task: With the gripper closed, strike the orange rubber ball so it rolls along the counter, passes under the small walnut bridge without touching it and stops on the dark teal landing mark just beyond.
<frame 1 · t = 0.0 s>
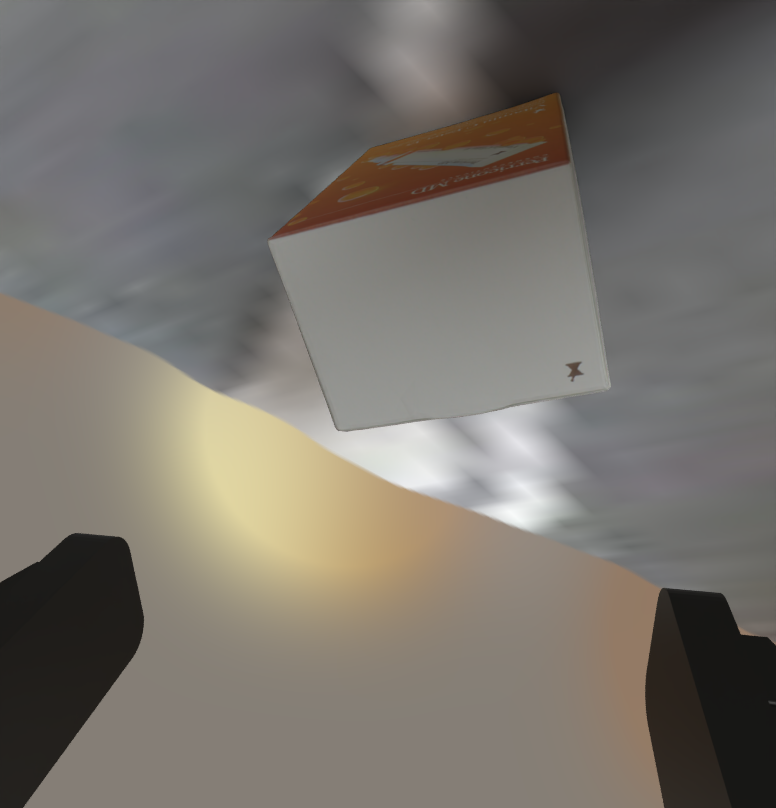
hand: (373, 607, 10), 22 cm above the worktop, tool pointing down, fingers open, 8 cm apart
small box: (476, 193, 29), on the worktop
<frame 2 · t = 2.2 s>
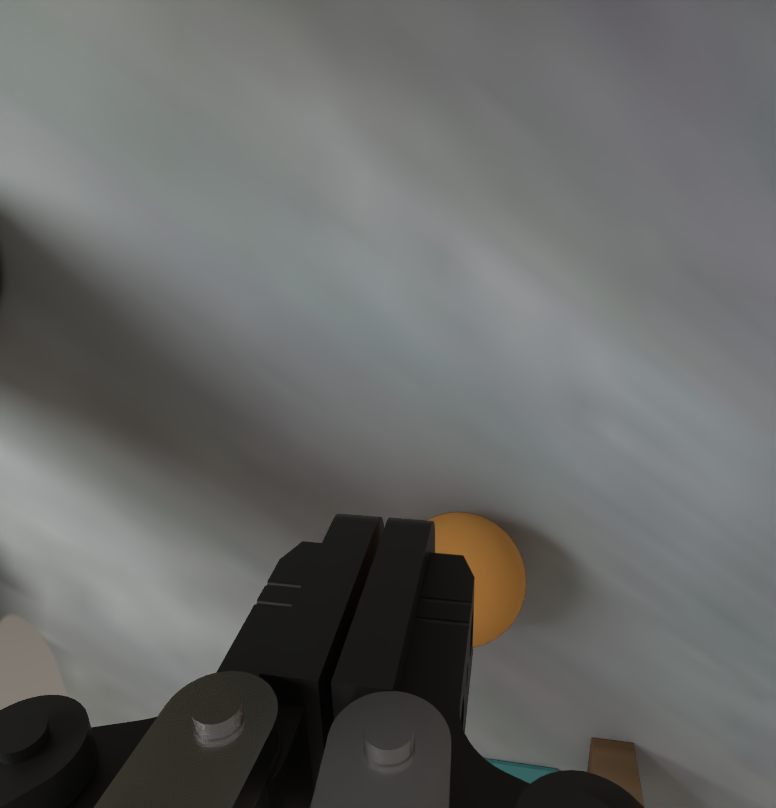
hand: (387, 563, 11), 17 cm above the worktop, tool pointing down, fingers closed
bridge: (461, 741, 36), on the worktop
ball: (459, 578, 28), on the worktop
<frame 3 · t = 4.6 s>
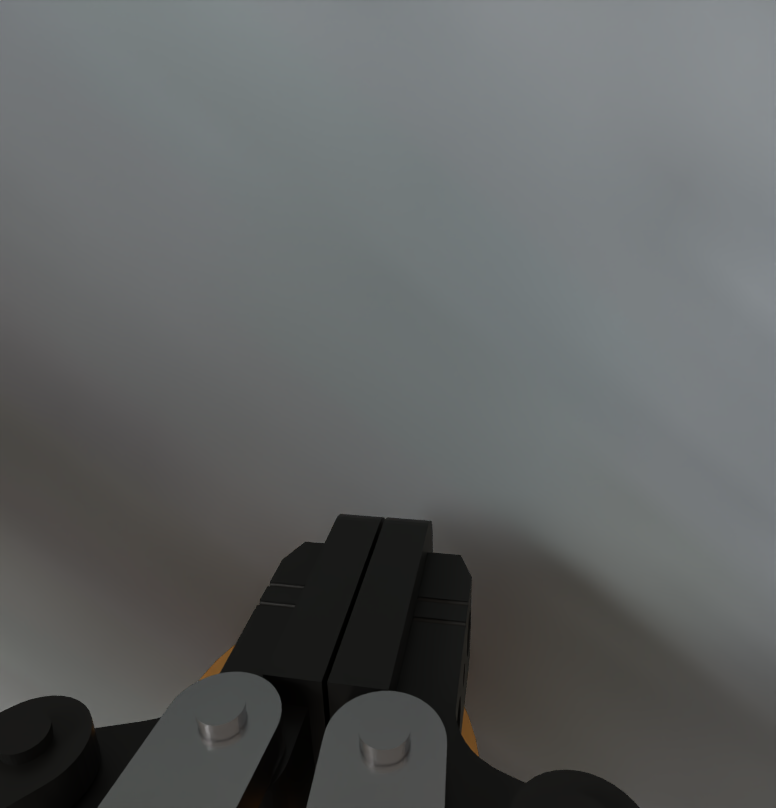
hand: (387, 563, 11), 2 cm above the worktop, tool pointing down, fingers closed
ball: (323, 777, 12), on the worktop, touching gripper
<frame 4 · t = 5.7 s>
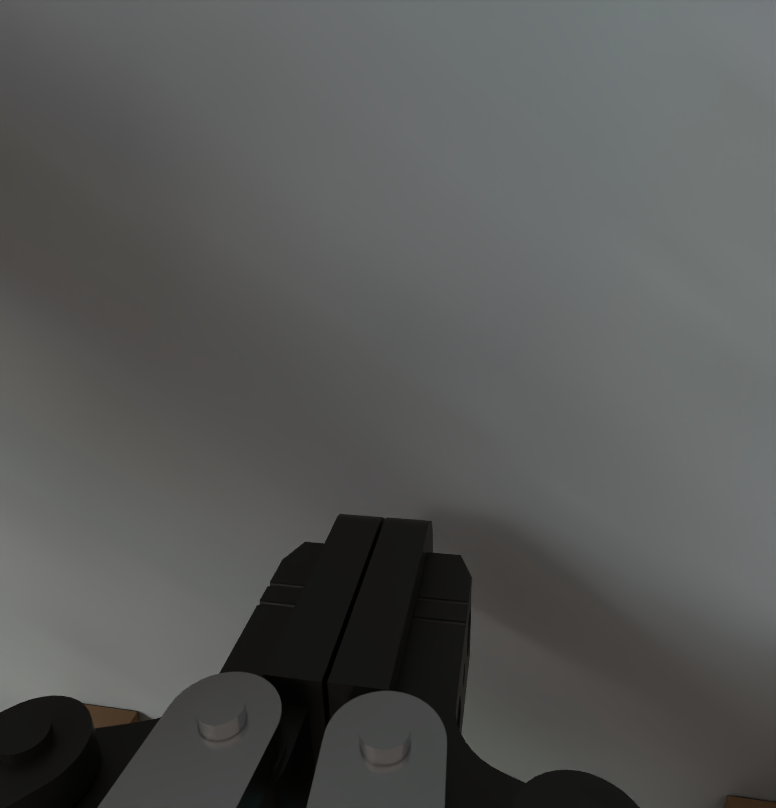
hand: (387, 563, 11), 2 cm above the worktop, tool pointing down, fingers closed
bridge: (409, 798, 15), on the worktop
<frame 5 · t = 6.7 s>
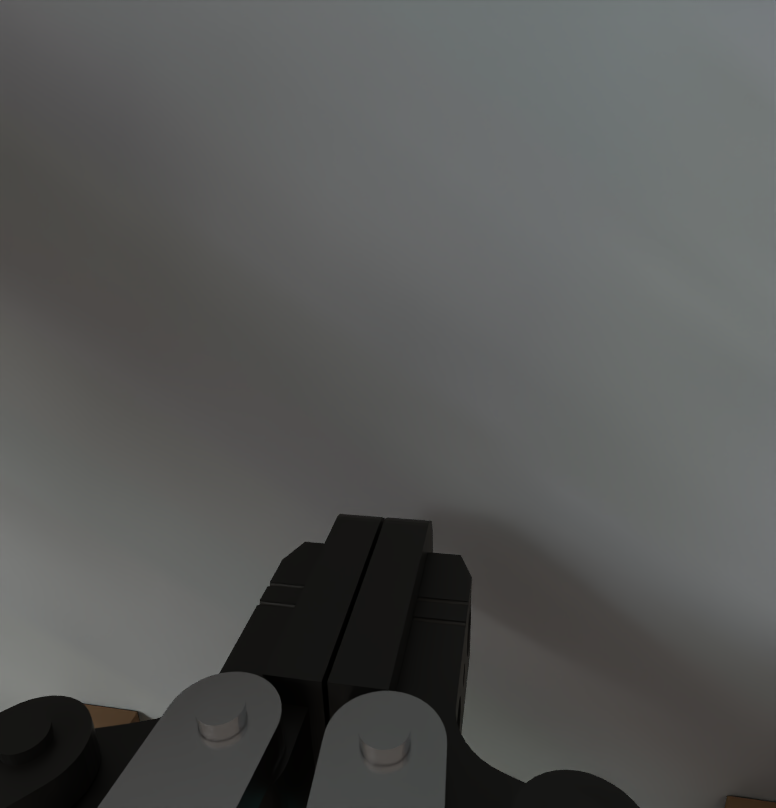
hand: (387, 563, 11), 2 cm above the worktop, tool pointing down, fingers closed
bridge: (409, 798, 15), on the worktop
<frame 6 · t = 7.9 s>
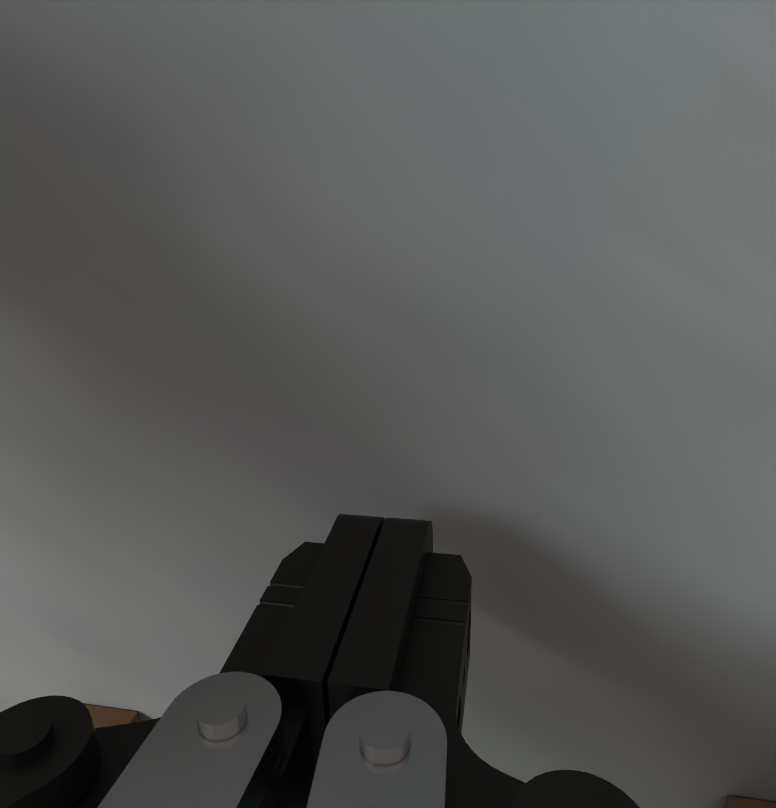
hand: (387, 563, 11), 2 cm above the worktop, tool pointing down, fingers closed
bridge: (409, 798, 15), on the worktop
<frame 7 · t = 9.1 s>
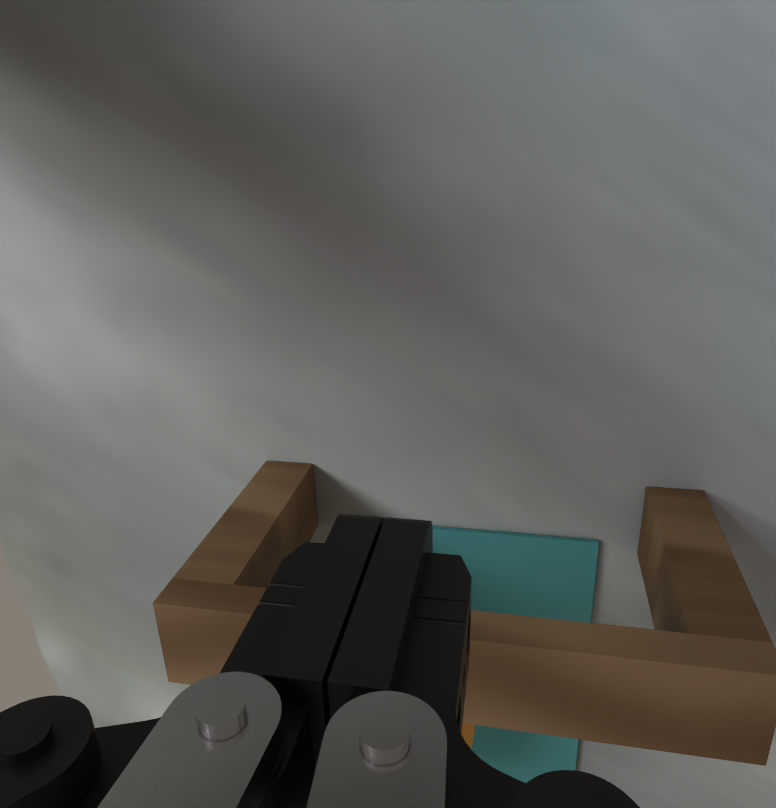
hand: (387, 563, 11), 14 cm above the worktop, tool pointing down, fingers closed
bridge: (470, 507, 27), on the worktop
landing mark: (467, 663, 30), on the worktop
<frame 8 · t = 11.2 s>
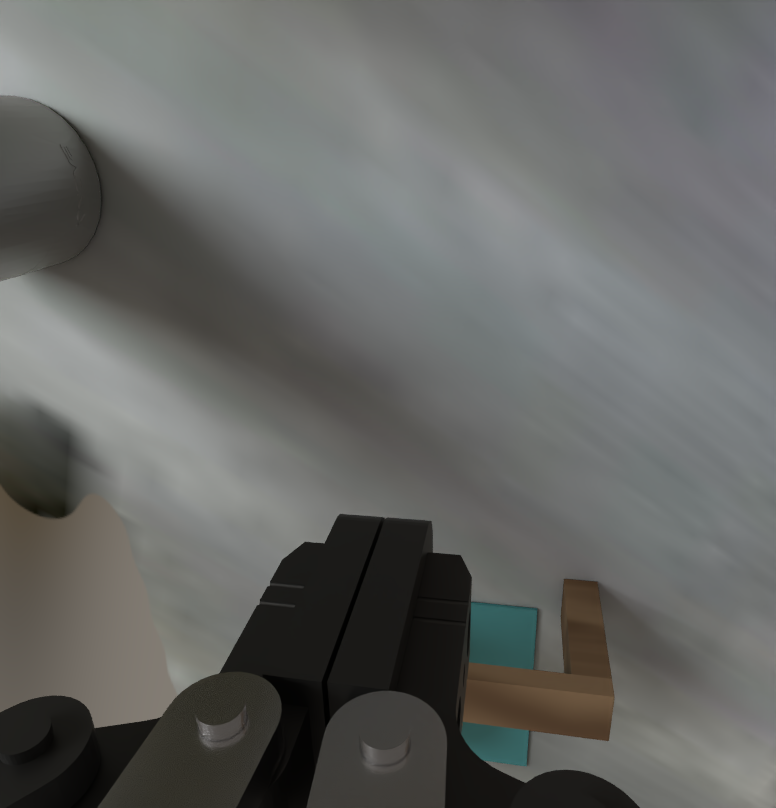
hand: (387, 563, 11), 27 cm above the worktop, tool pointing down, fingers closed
bridge: (459, 588, 44), on the worktop
landing mark: (458, 681, 47), on the worktop
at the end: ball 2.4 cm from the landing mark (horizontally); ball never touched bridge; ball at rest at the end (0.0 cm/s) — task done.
